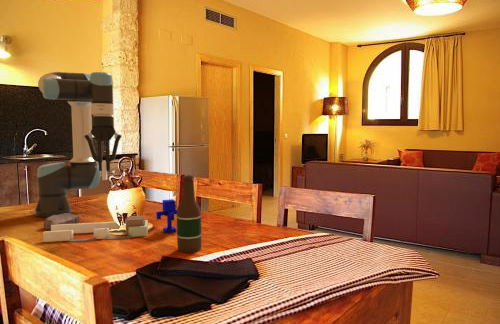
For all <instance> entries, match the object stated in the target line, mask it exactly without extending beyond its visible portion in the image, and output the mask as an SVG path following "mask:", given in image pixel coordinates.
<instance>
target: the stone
mask: <svg viewBox="0 0 500 324" xmlns="http://www.w3.org/2000/svg"><path fill="white" fill-rule="evenodd" d="M80 220H81V219H80V216H79V215H78V214H73V213H64V214H59V215H53V216H50V217H45V220H44V222H43V229H44V230H49V231H51V225H61V224H80V223H81V221H80Z"/></svg>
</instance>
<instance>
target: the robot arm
mask: <svg viewBox="0 0 500 324" xmlns="http://www.w3.org/2000/svg"><path fill="white" fill-rule="evenodd" d="M37 84H38V85H37V86H38V89H39V91H40V92H41V93H42V96H43V98H44V99H46V100H52V101H54V100H60V101H61V100H64V101H65V100H66V101H67V103H68V104H69V105H70V107H71V108H70V109H71V127H72V128H71V129H72V130H71V131H72V133H71V134H72V153H73V155H72V156H73V157H72V158H71V159H70V160H69V165H68V164H67V163H66V162H64V161H60V162H53V163H52V162H51V163H47V164H42V165H40V166H39V167H38V168H37V170H36V171H37V172H36V173H37V176H36V178H37V190H38V191H37V192H38V193H37V194H38V196H37V197H38V198H37V202H36V205H35V208H34V216H35V217H37V218H39V217H40V218H48V217H50V216H53V215H59V214H64V213H69V214H72V205H71V203H70V202H69V199H68V196H67V195H68V194H67V191H73V190H83V189H84V190H85V189H86V190H88V189H95V188H97V187H98V186H99V184H100V180H102V181H107V180H108V172H109V171H110V170H111V162H113V161H114V160H115V159H116V157H117V152H118V147H119V142H120V141H121V138H122V134H119V133H118V132H117V131H116V129H115V121H114V120H115V117H114V90H113V89H114V88H113V87H114V82H113V75H112V74H111V73H110V72H102V71H101V72H100V71H94V72H91V73H90V74H89V73H84V72H82V73H81V72H80V73H79V72H65V71H64V72H61V71H55V72H54V71H53V72H48V73H46V74H43V75H42V76H40V77H39V79H38V83H37ZM92 115H93V116H92ZM93 137H94V139H95V140H96V142H97V151H96V149H95V145H94V142H93ZM113 137H114V143H113V148H112V152H110V150H111V149H110V147H111V145H110V141H111V140H112V139H113ZM103 142H104V145H105V147H104V150H105V152H104V153H105V161H104V159H103V157H104V156H103V155H104V154H103Z"/></svg>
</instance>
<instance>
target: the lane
mask: <svg viewBox="0 0 500 324" xmlns="http://www.w3.org/2000/svg"><path fill="white" fill-rule="evenodd" d="M148 221H149V220H148V219H144V226H137V227H129V236H130V238H136V237H147V236H148V231H149V222H148ZM116 222H117V221H105V222H102V221H101V222H84V223H82V222H80V223H78V224H61V225H51V230H48V231H46V230H45V231H43V232H42V235H43V236H42V237H43V238H42V239H43V243H48V242H51V243H53V242H67V241H69V242H70V241H71V240H74V234H88V233H93V238H95V240H99V239H101V240H102V239H107V238H109V237H110V231H109V230H111V229H119V228H120V226H119V225H118V224H117V223H116Z"/></svg>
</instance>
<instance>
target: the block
mask: <svg viewBox="0 0 500 324" xmlns="http://www.w3.org/2000/svg"><path fill="white" fill-rule="evenodd" d="M125 219H126V220H125V221H126V231H125V232H126V234H125V235H126V236H129V227H137V226H144V220H145V215H130V217H126V218H125Z"/></svg>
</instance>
